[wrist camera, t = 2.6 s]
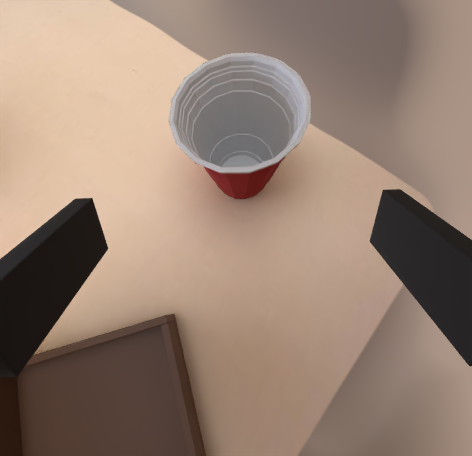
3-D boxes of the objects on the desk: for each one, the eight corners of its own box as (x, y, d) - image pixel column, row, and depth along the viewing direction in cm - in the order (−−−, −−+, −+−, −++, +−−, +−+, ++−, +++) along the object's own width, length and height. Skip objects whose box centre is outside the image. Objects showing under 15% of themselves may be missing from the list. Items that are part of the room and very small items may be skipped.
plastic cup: (207, 127, 34) (189, 35, 22) (294, 145, 33) (323, 60, 21) (181, 208, 31) (145, 152, 19) (275, 230, 30) (296, 186, 18)
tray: (216, 502, 24) (212, 531, 21) (28, 567, 23) (-4, 607, 20) (174, 313, 28) (166, 315, 25) (13, 362, 27) (-15, 370, 24)
